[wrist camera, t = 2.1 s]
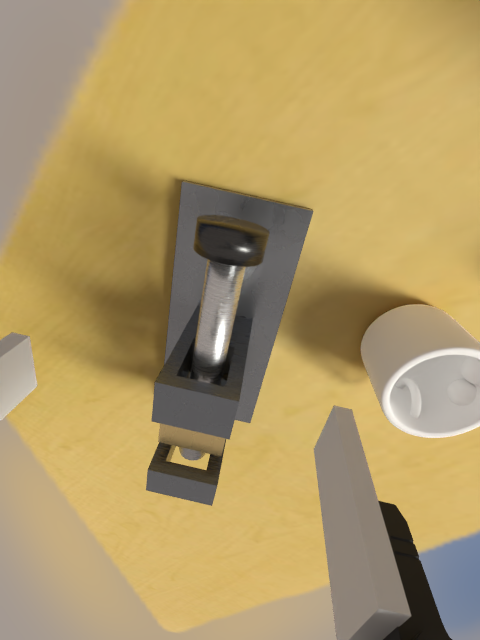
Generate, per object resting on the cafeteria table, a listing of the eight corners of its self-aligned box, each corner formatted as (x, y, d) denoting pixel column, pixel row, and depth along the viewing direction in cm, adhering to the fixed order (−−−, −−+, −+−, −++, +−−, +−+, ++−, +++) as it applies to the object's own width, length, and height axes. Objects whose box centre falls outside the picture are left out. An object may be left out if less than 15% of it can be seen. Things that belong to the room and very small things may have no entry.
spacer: (180, 370, 31) (161, 409, 26) (236, 383, 31) (229, 425, 26) (176, 399, 33) (158, 441, 28) (229, 412, 33) (221, 456, 28)
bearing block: (185, 180, 29) (116, 198, 17) (312, 209, 28) (336, 248, 16) (163, 397, 41) (115, 495, 29) (250, 417, 41) (238, 524, 29)
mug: (427, 398, 37) (468, 465, 29) (341, 383, 37) (357, 445, 29) (477, 308, 31) (546, 361, 23) (374, 291, 31) (407, 337, 23)
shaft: (205, 211, 23) (188, 223, 19) (270, 225, 23) (268, 242, 19) (176, 424, 34) (161, 463, 30) (220, 434, 34) (211, 475, 30)
